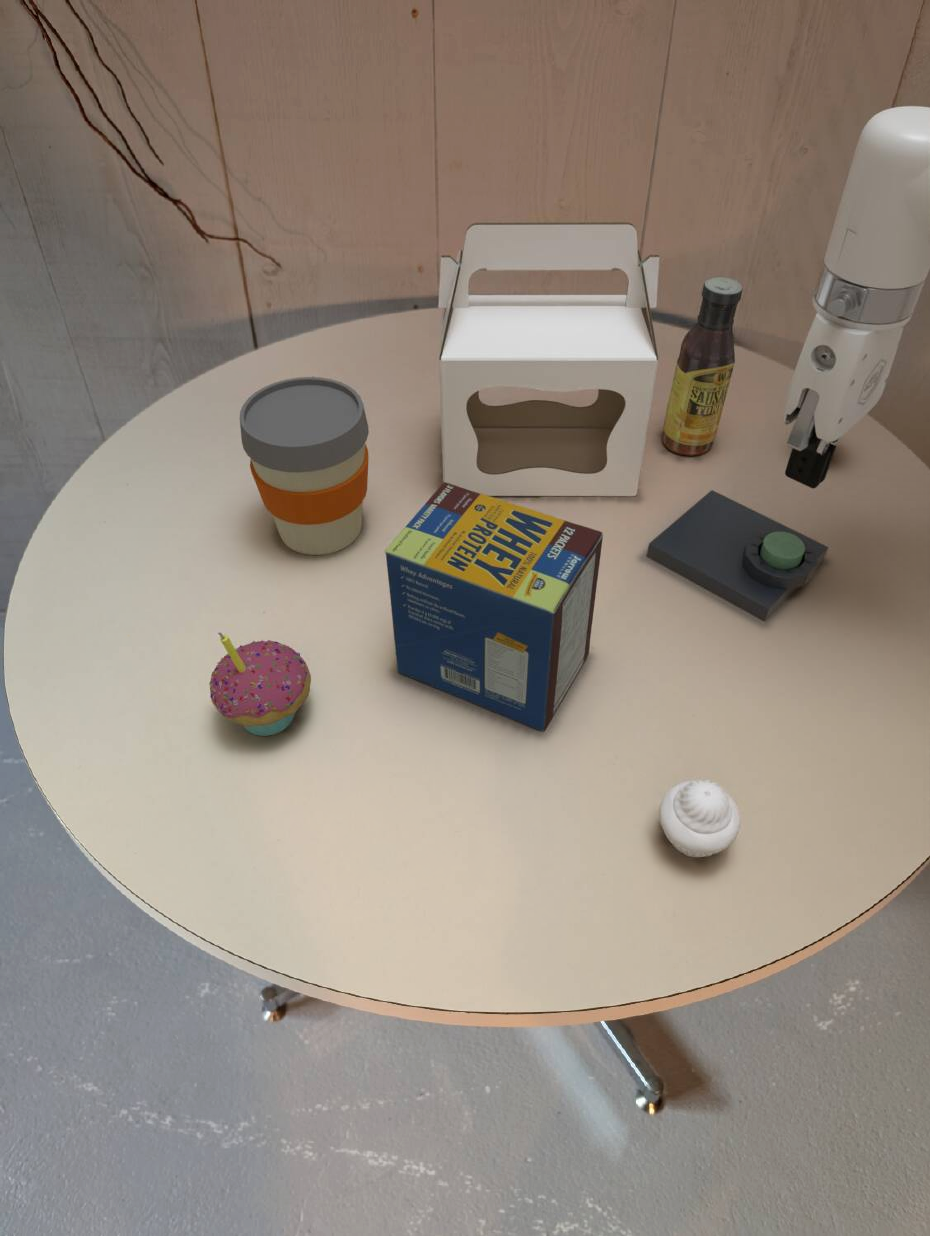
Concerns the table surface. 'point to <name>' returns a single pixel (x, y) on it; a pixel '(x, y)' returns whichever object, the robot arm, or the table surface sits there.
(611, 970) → the table surface
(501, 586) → the protein box
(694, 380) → the sauce bottle
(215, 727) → the table surface
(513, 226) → the gable box
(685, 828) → the muffin
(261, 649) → the cupcake
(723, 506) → the scale
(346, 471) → the reusable coffee cup
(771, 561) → the button
